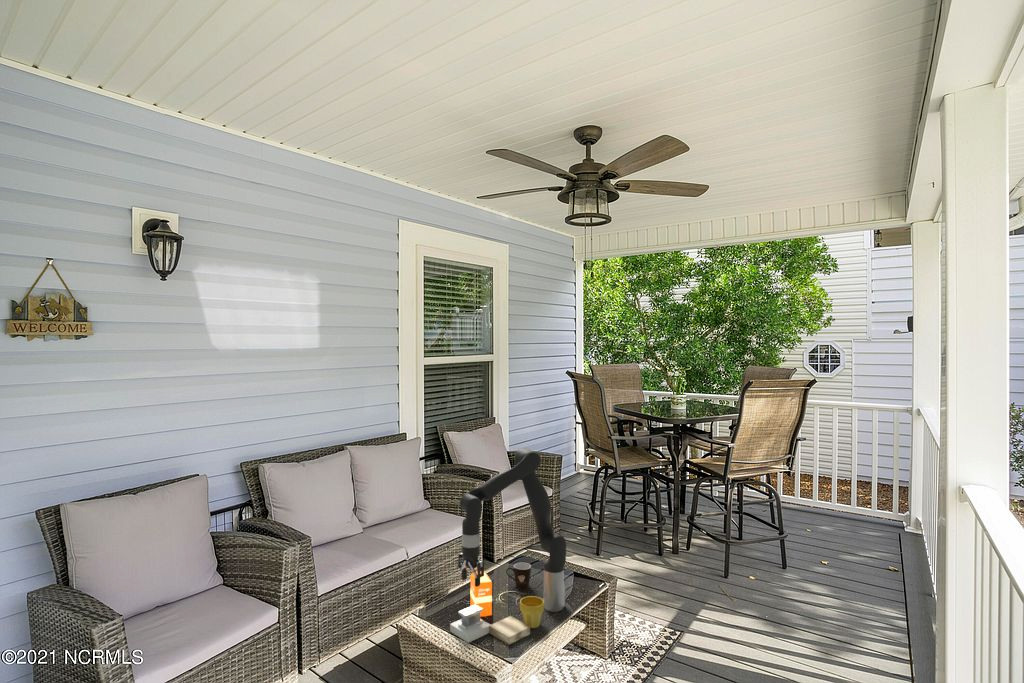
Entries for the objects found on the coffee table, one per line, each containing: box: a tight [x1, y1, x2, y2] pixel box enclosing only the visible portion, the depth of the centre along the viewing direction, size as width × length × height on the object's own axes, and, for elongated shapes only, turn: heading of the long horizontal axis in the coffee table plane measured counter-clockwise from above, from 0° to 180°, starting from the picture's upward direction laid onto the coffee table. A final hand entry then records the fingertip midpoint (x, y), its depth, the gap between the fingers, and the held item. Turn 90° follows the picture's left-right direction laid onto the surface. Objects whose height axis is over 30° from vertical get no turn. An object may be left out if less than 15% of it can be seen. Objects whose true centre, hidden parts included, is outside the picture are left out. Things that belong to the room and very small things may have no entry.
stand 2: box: [488, 615, 531, 646], centre depth 221 cm, size 12×12×3 cm
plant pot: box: [519, 595, 545, 629], centre depth 228 cm, size 10×10×10 cm
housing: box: [458, 604, 483, 630], centre depth 222 cm, size 9×5×6 cm, turn 133°
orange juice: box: [469, 567, 493, 618], centre depth 239 cm, size 8×9×20 cm
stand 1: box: [449, 618, 491, 643], centre depth 222 cm, size 12×12×3 cm
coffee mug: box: [505, 562, 532, 590], centre depth 265 cm, size 12×9×10 cm
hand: (470, 582), depth 222 cm, fingers open, 8 cm apart
